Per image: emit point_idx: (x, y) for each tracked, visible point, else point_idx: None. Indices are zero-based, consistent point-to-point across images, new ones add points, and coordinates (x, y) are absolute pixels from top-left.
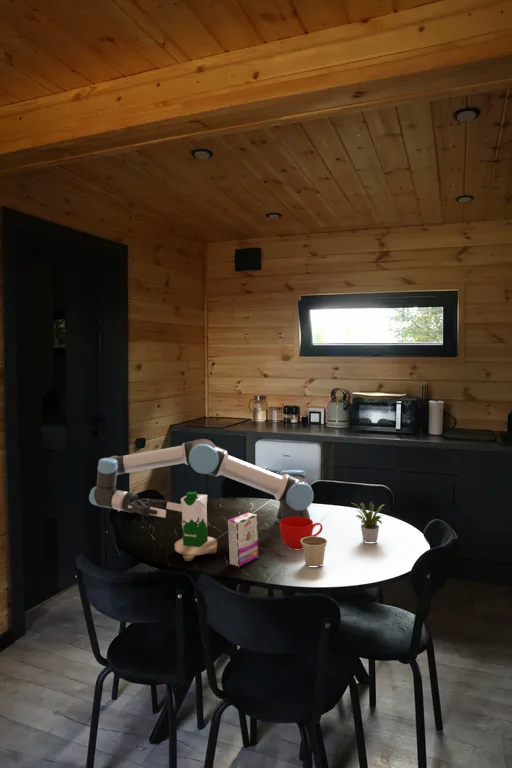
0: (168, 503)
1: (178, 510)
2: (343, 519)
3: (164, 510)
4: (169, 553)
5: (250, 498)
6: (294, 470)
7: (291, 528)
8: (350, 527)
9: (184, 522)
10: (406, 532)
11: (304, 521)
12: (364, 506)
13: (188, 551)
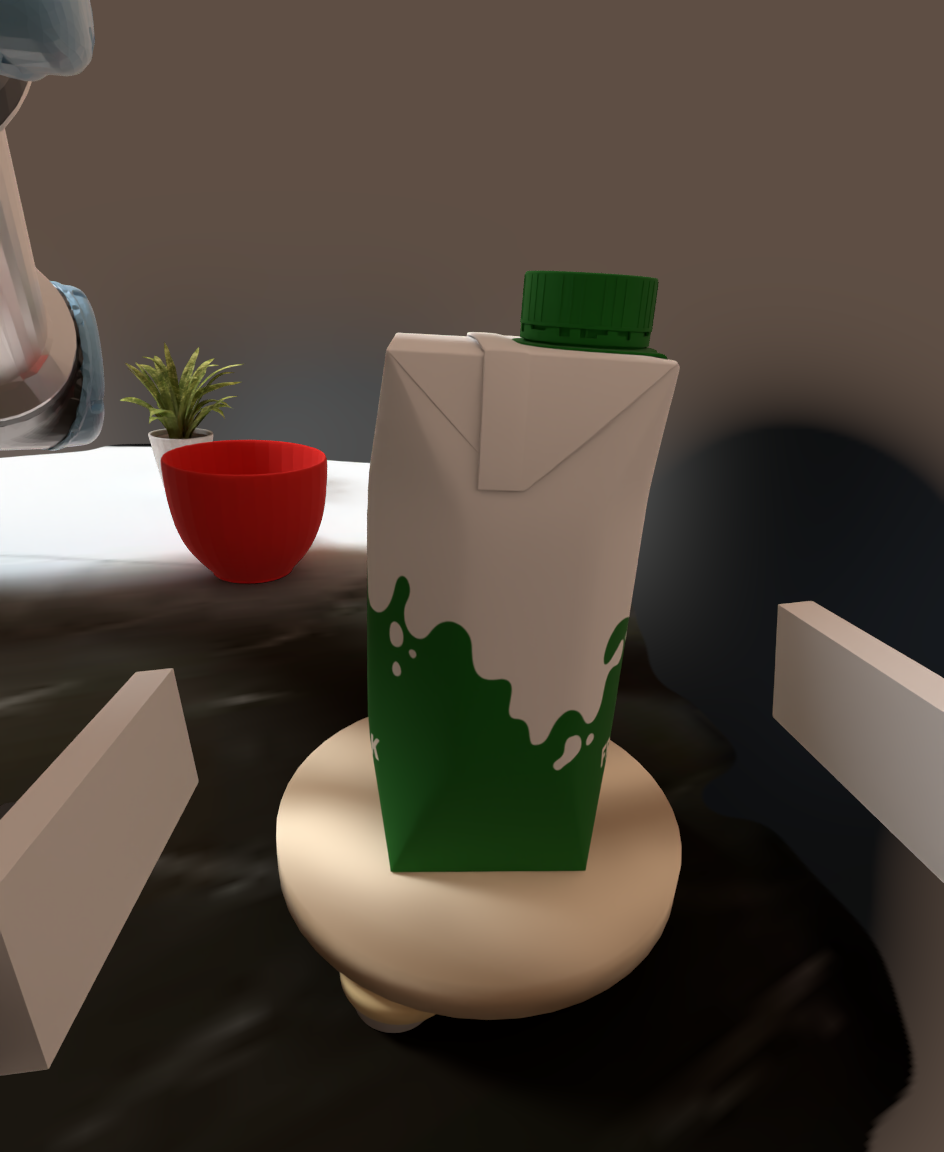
0: (28, 886)
1: (181, 798)
2: None
3: (820, 610)
4: (586, 1138)
5: None
6: None
7: (326, 465)
8: (15, 504)
9: (620, 638)
10: (106, 456)
11: (182, 466)
12: (161, 368)
13: (662, 795)
